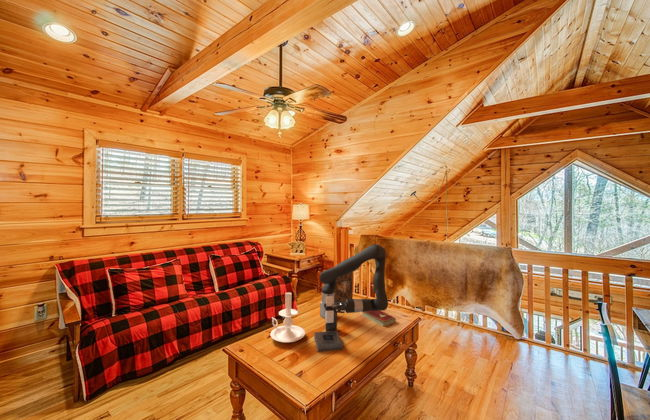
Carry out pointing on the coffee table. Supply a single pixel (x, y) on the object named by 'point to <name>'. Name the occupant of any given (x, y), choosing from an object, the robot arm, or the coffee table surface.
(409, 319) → the coffee table surface
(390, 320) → the hardcover book
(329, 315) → the square bit
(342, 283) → the book
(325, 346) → the bore plate
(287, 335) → the candlestick
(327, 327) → the block
